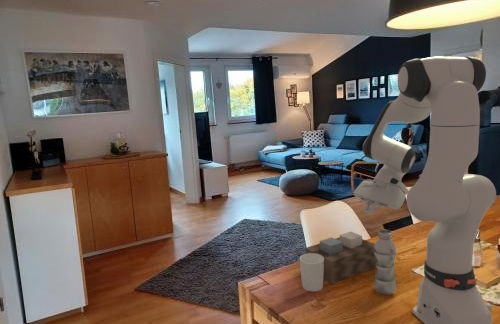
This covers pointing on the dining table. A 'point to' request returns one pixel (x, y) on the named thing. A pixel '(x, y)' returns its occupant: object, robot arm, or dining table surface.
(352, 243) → the light beige square block
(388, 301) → the dining table surface
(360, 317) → the dining table surface
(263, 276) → the dining table surface
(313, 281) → the white cup
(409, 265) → the dining table surface
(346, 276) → the brown rectangular block
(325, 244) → the blue-grey square block
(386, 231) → the plastic bottle
